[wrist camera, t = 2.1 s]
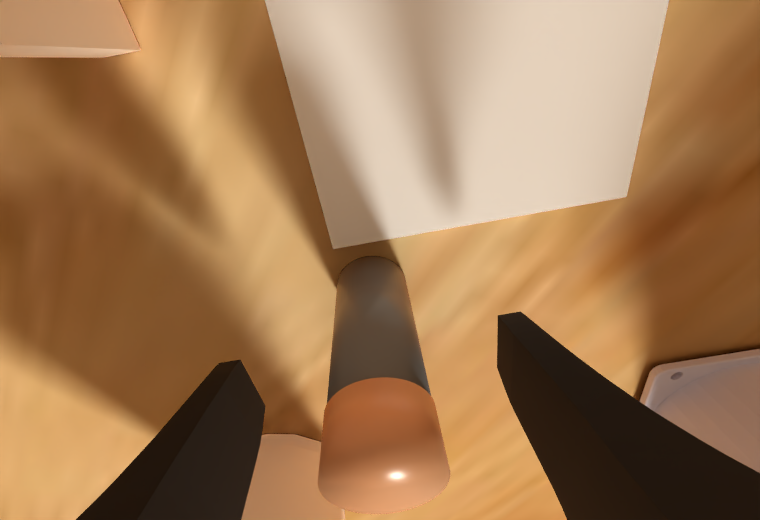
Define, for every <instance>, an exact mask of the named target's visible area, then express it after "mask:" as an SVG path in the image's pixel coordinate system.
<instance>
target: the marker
mask: <svg viewBox="0 0 760 520" xmlns="http://www.w3.org/2000/svg"><path fill="white" fill-rule="evenodd" d="M449 479H450V469H449V464H448V460H447V456H446V451H445V447H444V442H443V438H442V433H441V429H440V425H439V420H438V416H437V411H436V407H435V403H434V400H433V398H432V397H431V394H430V389H429V385H428V380H427V376H426V371H425V367H424V362H423V357H422V353H421V348H420V344H419V339H418V335H417V330H416V326H415V321H414V317H413V312H412V307H411V303H410V298H409V294H408V289H407V285H406V280H405V276H404V274H403V272H402V270H401V269H400V268H399V266H398V265H396V264H395V263H394V262H392V261H390V260H388V259H386V258H383V257H377V256H368V257H362V258H359V259H356V260H354V261H352V262H351V263H349V264H348V265H347V266H346V267H345V268H344V269H343V270H342V272H341V273H340V275H339V278H338V283H337V295H336V306H335V318H334V329H333V341H332V352H331V364H330V375H329V387H328V398H327V405H326V408H325V410H324V419H323V430H322V441H321V452H320V462H319V473H318V488H319V491H320V493H321V494H322V496H323V497H324V498H325V499H326V500H327V501H329V502H330V503H331V504H333V505H335V506H337V507H339V508H342V509H344V510H348V511H352V512H356V513H363V514H389V513H396V512H402V511H406V510H410V509H413V508H416V507H418V506H421V505H423V504H425V503H427V502H429V501H431V500H432V499H434V498H435V497H437V496H438V495H439V494H440V493H441V492H442V491H443V490H444V489H445V488H446V486H447V484H448V482H449Z"/></svg>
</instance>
